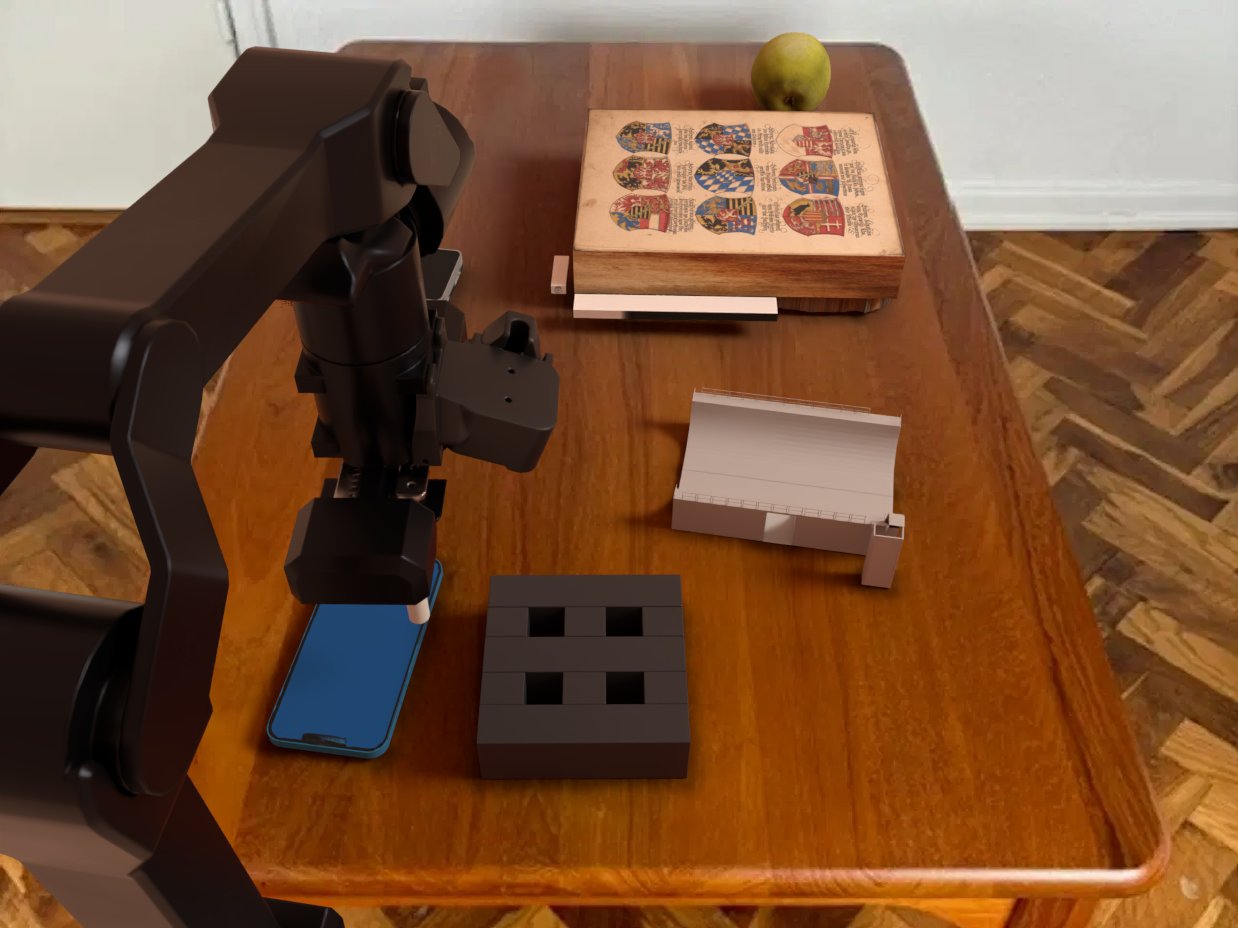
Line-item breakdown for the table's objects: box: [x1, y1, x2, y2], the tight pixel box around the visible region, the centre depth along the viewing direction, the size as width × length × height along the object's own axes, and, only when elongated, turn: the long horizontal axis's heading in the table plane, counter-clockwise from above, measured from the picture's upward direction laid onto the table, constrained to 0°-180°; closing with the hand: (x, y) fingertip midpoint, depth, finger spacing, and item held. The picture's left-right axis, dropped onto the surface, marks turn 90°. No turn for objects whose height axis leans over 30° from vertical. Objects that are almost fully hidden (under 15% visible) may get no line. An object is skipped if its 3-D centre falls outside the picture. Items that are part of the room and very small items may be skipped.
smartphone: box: [266, 557, 444, 760], centre depth 75 cm, size 7×1×15 cm
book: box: [550, 107, 907, 323], centre depth 103 cm, size 25×6×28 cm
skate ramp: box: [671, 387, 906, 590], centre depth 82 cm, size 15×13×5 cm
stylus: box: [407, 598, 431, 624], centre depth 65 cm, size 1×1×11 cm
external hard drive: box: [420, 247, 464, 302], centre depth 100 cm, size 7×11×2 cm, turn 81°
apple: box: [750, 32, 832, 111], centre depth 118 cm, size 8×9×8 cm
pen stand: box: [476, 573, 691, 780], centre depth 72 cm, size 12×12×4 cm
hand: (406, 549), depth 64 cm, fingers closed on stylus, 1 cm apart
